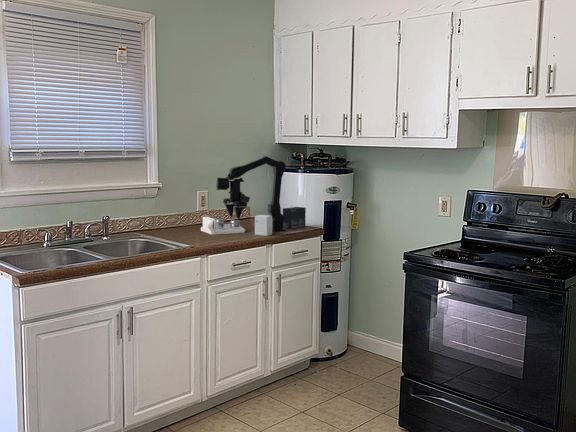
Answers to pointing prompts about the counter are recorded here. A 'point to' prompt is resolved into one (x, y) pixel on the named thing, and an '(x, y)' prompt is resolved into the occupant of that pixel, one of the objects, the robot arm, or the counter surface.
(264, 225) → the small box
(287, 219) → the small box
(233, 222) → the steel cup
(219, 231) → the scale
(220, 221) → the spacer on pan
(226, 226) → the pan
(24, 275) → the counter surface
